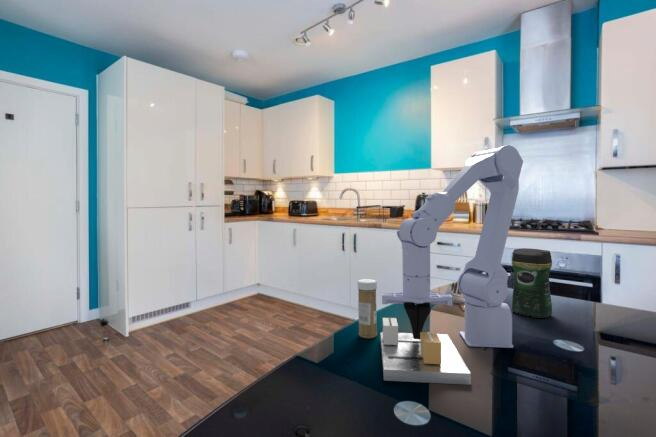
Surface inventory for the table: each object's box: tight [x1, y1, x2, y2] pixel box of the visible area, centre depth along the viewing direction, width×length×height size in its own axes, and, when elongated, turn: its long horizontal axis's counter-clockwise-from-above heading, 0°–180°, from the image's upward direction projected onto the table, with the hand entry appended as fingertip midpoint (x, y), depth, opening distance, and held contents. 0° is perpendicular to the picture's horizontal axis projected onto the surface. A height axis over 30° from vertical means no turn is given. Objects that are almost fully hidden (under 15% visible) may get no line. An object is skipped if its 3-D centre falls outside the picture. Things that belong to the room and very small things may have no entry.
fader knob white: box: [382, 317, 399, 345], centre depth 74 cm, size 3×5×4 cm, turn 173°
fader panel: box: [380, 331, 472, 386], centre depth 69 cm, size 15×18×2 cm
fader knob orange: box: [420, 331, 441, 364], centre depth 65 cm, size 3×5×4 cm, turn 173°
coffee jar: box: [511, 247, 553, 319], centre depth 96 cm, size 10×8×19 cm
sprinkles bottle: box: [357, 278, 378, 339], centre depth 82 cm, size 5×5×14 cm
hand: (416, 337), depth 73 cm, fingers closed
